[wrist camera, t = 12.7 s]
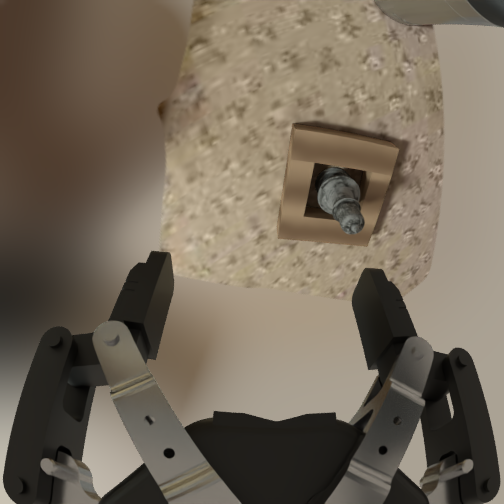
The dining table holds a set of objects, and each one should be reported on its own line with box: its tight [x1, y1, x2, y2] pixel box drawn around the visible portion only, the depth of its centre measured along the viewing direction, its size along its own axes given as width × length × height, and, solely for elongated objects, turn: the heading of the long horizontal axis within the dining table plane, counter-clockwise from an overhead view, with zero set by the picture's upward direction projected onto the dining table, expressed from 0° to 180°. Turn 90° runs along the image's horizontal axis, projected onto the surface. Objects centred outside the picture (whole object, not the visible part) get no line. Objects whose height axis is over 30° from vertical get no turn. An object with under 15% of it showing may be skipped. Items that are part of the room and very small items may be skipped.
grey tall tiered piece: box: [315, 167, 365, 234], centre depth 34 cm, size 6×6×12 cm
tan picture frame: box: [277, 123, 399, 247], centre depth 38 cm, size 16×14×3 cm
